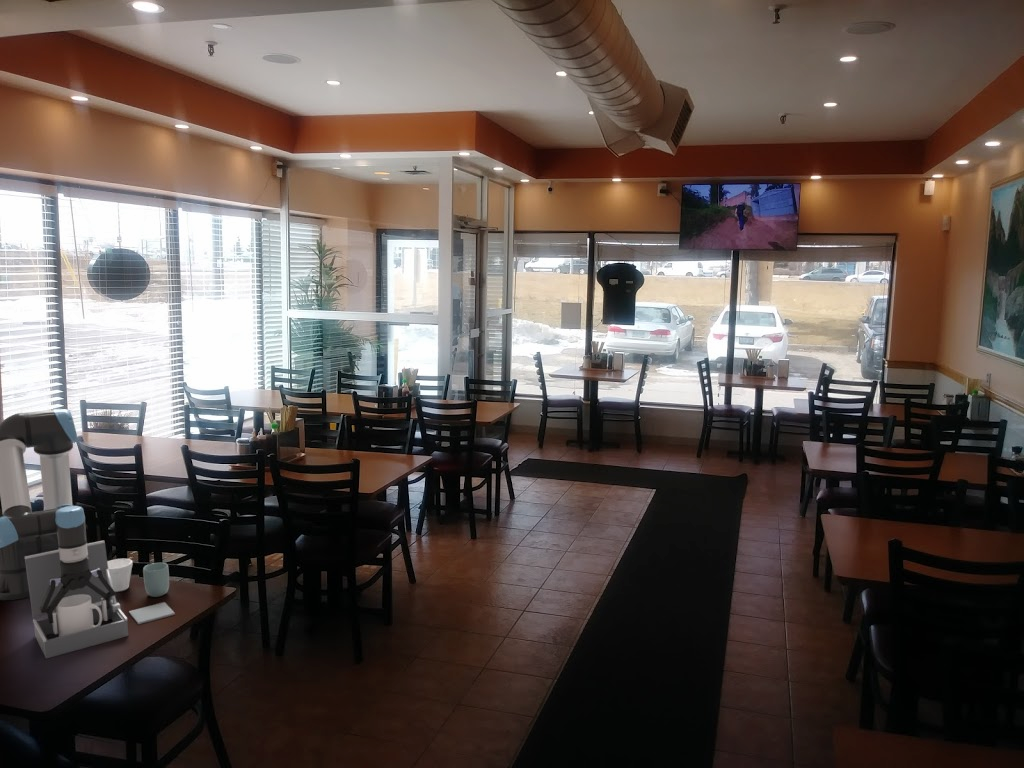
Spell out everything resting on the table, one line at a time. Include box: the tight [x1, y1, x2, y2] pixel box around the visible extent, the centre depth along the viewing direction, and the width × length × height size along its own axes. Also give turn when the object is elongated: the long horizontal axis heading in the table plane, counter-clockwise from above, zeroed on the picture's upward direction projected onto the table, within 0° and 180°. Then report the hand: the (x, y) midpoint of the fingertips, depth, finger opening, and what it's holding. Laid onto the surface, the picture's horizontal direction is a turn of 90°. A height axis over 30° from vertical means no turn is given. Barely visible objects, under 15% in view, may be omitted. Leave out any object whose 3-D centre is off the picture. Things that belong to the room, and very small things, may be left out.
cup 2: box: [142, 562, 170, 598], centre depth 276 cm, size 8×8×10 cm
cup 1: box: [107, 558, 134, 593], centre depth 281 cm, size 10×10×9 cm
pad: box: [128, 601, 176, 625], centre depth 261 cm, size 11×11×1 cm
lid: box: [25, 540, 112, 619], centre depth 252 cm, size 19×22×1 cm
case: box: [32, 569, 129, 659], centre depth 245 cm, size 20×23×16 cm
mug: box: [56, 594, 103, 637], centre depth 245 cm, size 10×12×12 cm
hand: (80, 626), depth 245 cm, fingers open, 13 cm apart
